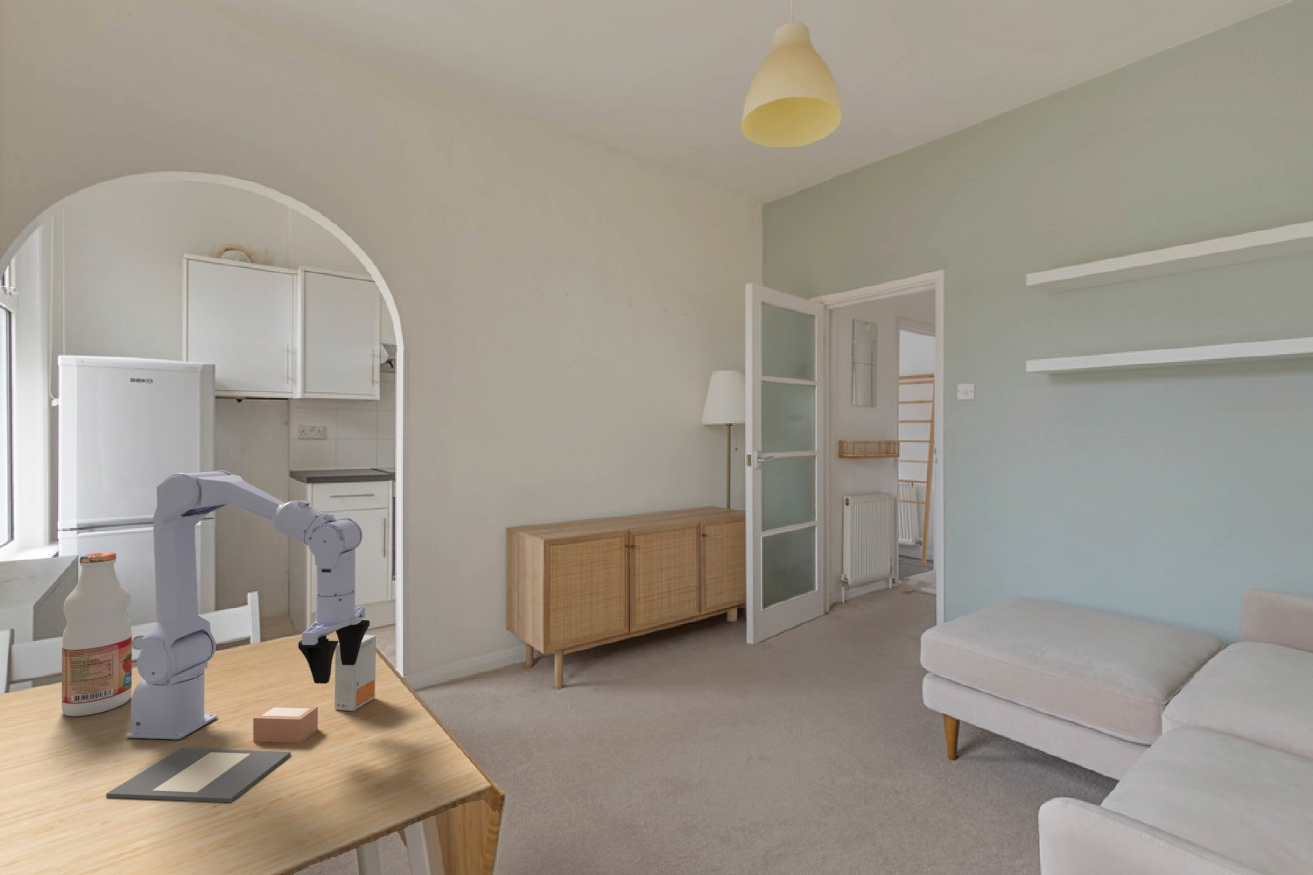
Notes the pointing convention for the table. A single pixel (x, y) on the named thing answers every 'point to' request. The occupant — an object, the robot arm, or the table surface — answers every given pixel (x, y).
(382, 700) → the table surface
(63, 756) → the table surface
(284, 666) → the table surface
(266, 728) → the pink box with label
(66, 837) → the table surface
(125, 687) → the fruit juice
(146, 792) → the charcoal mat
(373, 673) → the skincare box
